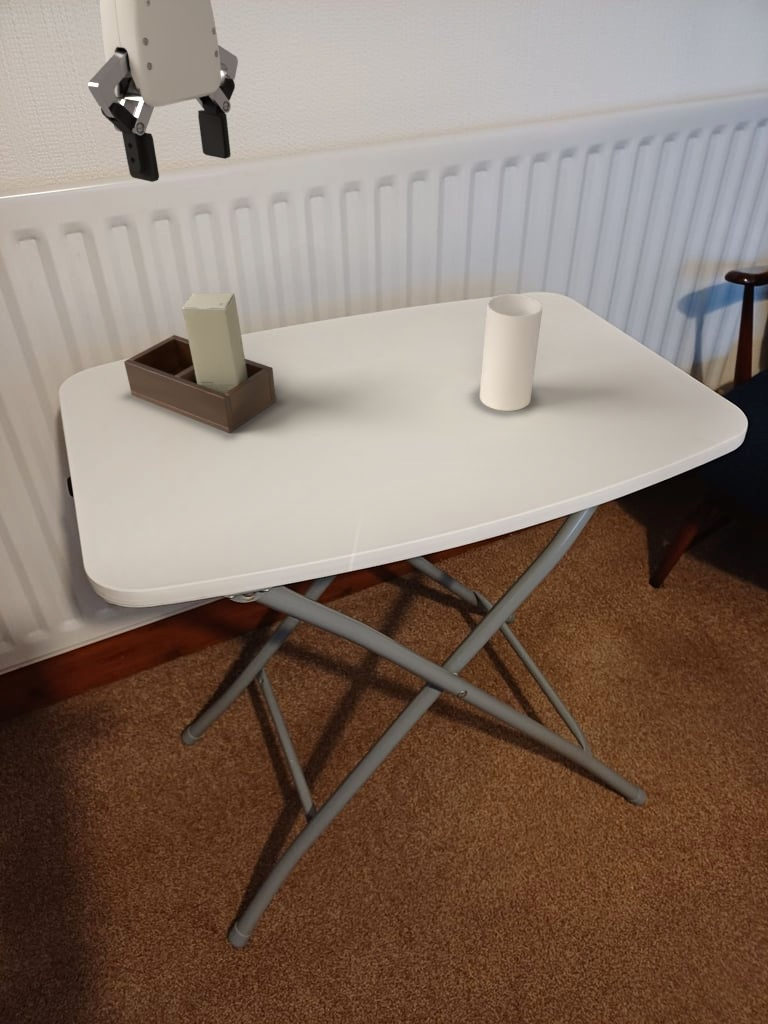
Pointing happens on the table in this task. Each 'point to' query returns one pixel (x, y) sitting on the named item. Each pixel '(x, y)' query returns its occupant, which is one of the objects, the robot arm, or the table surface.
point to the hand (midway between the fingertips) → (182, 167)
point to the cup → (510, 351)
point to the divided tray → (197, 386)
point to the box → (215, 340)
